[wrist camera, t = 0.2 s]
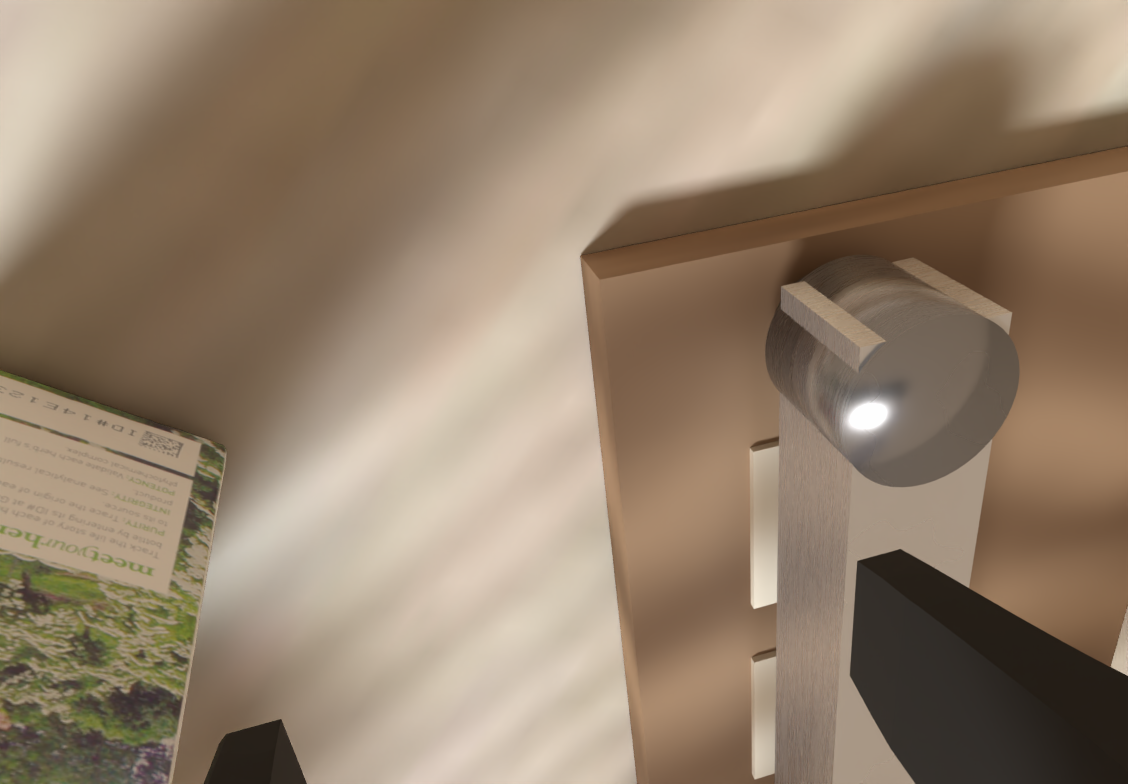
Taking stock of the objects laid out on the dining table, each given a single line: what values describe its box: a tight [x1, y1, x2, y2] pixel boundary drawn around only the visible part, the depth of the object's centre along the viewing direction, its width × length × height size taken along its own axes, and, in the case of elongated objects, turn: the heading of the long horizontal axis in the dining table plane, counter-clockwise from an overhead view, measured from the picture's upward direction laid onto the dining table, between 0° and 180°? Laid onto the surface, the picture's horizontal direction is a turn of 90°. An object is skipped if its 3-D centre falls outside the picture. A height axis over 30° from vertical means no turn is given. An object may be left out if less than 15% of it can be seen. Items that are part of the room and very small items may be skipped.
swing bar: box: [765, 255, 1020, 784], centre depth 21 cm, size 18×4×3 cm, turn 7°
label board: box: [580, 146, 1128, 784], centre depth 25 cm, size 20×16×2 cm
